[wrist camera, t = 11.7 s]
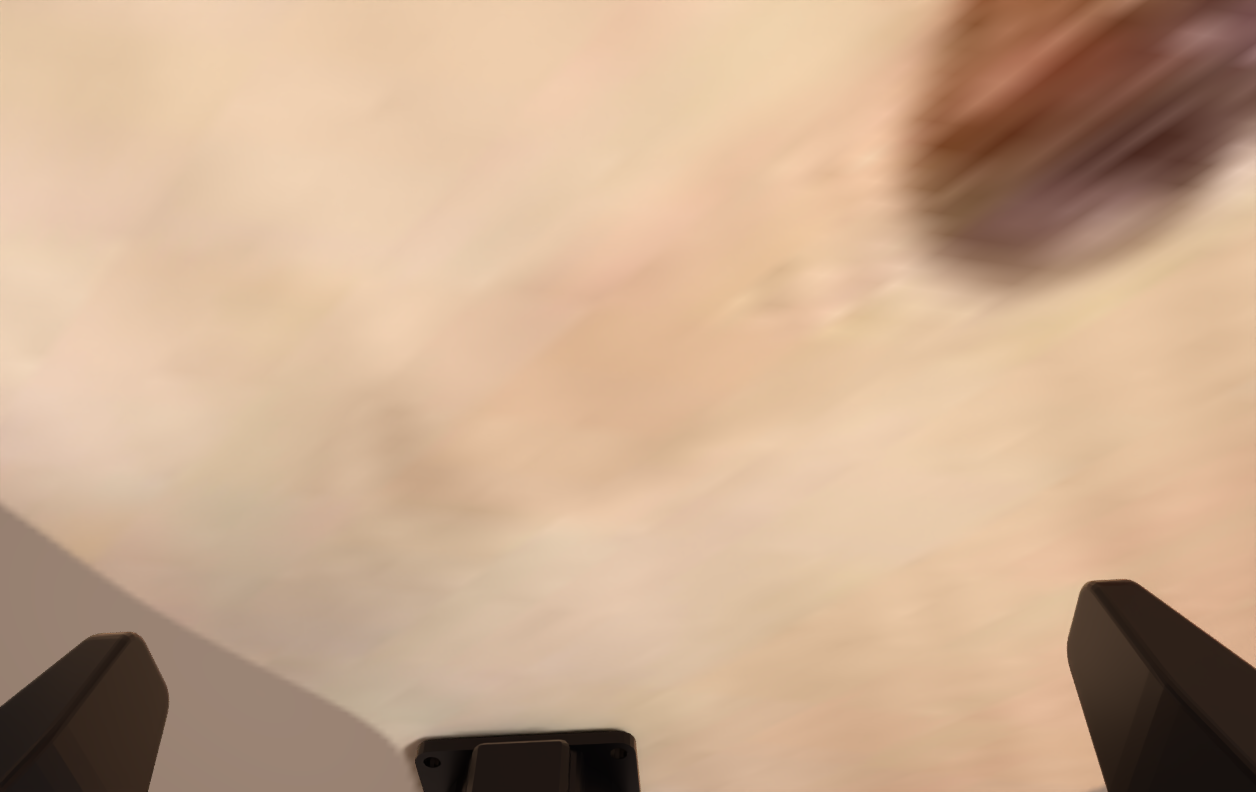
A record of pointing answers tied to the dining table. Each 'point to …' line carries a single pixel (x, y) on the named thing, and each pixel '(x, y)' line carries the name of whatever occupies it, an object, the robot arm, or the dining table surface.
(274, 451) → the dining table surface
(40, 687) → the robot arm
